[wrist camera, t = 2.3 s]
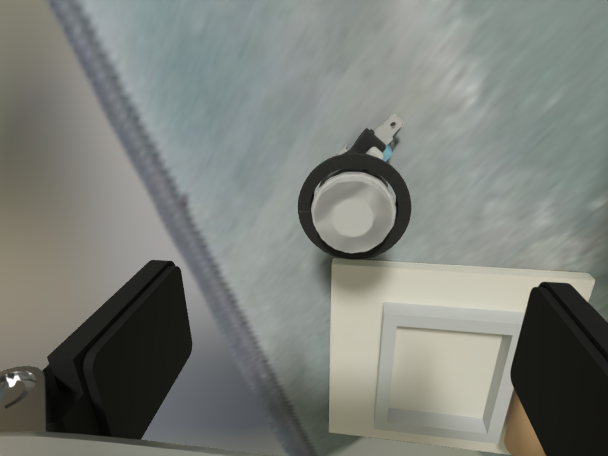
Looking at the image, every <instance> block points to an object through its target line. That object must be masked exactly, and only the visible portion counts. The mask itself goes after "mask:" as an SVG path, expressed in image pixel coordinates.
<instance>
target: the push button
mask: <svg viewBox="0 0 608 456" xmlns="http://www.w3.org/2000/svg"><path fill="white" fill-rule="evenodd" d="M392 122H396V124H395V126H390V124H391V123H392ZM402 125H403V122H402V120H401V119H400V118H399V117H398V116H397V115H396V114H392V115H391V116H390V117H389V119H388V120H387V121H386V122H385V123H384V124H383V125H382V126H381V125H379V127H378V128H377V129H376V130H375V131H373V130H372V129H371V130H369V129H367V128H366V129H365V130H364V131H363V133H362V134H361V135H360V136H359V138H358V139H357V141H356V142H355V144H354V145H353V147H352V148H351V149H350V150H347V149H346V147H347V144H345V145H344V147H343V148H342V149H341V150H340V151H339V153H338V154H337V155H336V156H334V157H332V158H329V159H327V160H326V161H324V162H322V163H321V164H320V165H318V166H317V167H316V168H315V169H314V170H313V171H312V172H311V173H310V174H309V176H308V177H307V179H306V180H305V182H304V184H303V186H302V189H301V191H300V195H299V200H298V214H299V219H300V223H301V225H302V228H303V230H304V231H305V233H306V235H307V236H308V238H309V239H310V240H311V241H312V242H313V243H314V244H315V245H316V246H317V247H319V248H320V249H321V250H323V251H324V252H326V253H328V254H330V255H333V256H335V257H339V258H343V259H350V260H360V259H367V258H371V257H374V256H377V255H379V254H381V253H383V252H385V251H387V250H388V249H390V248H391V247H392V246H393V245H395V244H396V243H397V242H398V240H399V239H400V238H401V237H402V235H403V234H404V232H405V230H406V228H407V226H408V223H409V220H410V215H411V199H410V195H409V191H408V189H407V186H406V184H405V182H404V180H403V178H402V177H401V175H400V174H399V173H398V172H397V171H396V170H395V169H394V168H393V167H392V166H391V165H390V164H388V163H387V162H386V161H387V160H388V159H389V158H390V157H391V155H392V154H393V152H392V149H391V146H390V145H389V143H390V142H391V141H392V140H393V139H394V138H393V137H392V136H393V135H394V134H395V133H396V132H397V131H398V129H399V128H400V127H401V126H402ZM321 180H322V181H321ZM320 181H321V183H320ZM386 181H387V182H388V183H389V184H390V185H391V187H392V188H393V190H394V192H395V195H396V204H395V202H394V198H393V195H392V193H391V192H390V190H389V189H388V186H387V182H386ZM319 183H320V186H319V189H318V190H317V192H316V193H315V196H314V191H315V188H316V187H317V185H318V184H319Z"/></svg>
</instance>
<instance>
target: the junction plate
mask: <svg viewBox="0 0 608 456" xmlns="http://www.w3.org/2000/svg"><path fill="white" fill-rule="evenodd" d="M595 281H596V280H595V279H594V278H593V277H592V276H591V275H590V274H589V273H581V272H564V271H547V270H530V269H513V268H496V267H479V266H462V265H445V264H428V263H411V262H394V261H377V260H350V259H343V258H333V260H332V276H331V334H330V393H329V432H331V433H339V434H347V435H355V436H363V437H371V438H379V439H388V440H396V441H404V442H411V443H420V444H428V445H436V446H444V447H452V448H460V449H468V450H476V451H484V452H492V453H500V454H508V455H512V456H546V455H545V453H544V451H543V448H542V446H541V444H540V442H539V440H538V438H537V436H536V434H535V432H534V429H533V427H532V425H531V423H530V421H529V419H528V417H527V415H526V413H525V410H524V408H523V406H522V404H521V402H520V400H519V398H518V396H517V394H516V391H515V389H514V387H513V385H512V382H511V377H510V370H511V366H512V362H513V358H514V354H515V350H516V346H517V342H518V338H519V334H520V331H521V327H522V323H523V319H524V315H525V311H526V307H527V303H528V299H529V295H530V292H531V290H532V288H533V287H538V286H539V284H540V283H542V282H558V283H569V284H571V285H572V286H573V287H574V288H575V289H576V290H577V291H578V292H579V293H580V295H581V296H582V297H583V298H584V299H585V300H586V301H587V302H588V301H589V298H590V295H591V292H592V289H593V287H594V284H595Z"/></svg>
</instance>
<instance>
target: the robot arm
mask: <svg viewBox="0 0 608 456" xmlns="http://www.w3.org/2000/svg"><path fill="white" fill-rule="evenodd" d="M191 350H192V338H191V332H190V326H189V320H188V313H187V307H186V300H185V294H184V288H183V281H182V275H181V270H180V268H179V267H178V266H175V264H174V263H173V262H172V261H161V260H151V261H149V262H148V263H147V264H146V265H145V266H144V267H143V268H142V269H141V270H140V271H139V272H138V273H137V274H136V275H134V276H133V277H132V278H131V279H130V280H129V281H128V282H127V283H126V284H125V285H124V286H123V287H122V288H120V289H119V290H118V291H117V292H116V293H115V294H114V295H113V296H112V297H111V298H110V299H109V300H108V301H106V302H105V303H104V304H103V305H102V306H101V307H100V308H99V309H98V310H97V311H96V312H95V313H94V314H93V315H92V316H90V317H89V318H88V319H87V320H86V321H85V322H84V323H83V324H82V325H81V326H80V327H79V328H78V329H77V330H75V331H74V332H73V333H72V334H71V335H70V336H69V337H68V338H67V339H66V340H65V341H64V342H63V343H62V344H60V346H58V347H57V348H56V349H55V350H54V351H53V352H52V353H51V354H50V355H49V356H48V357H47V358H48V361H49V365H48V366H47V367H46V368H45V369H44V370H43V371H42V370H40V369H39V368H37V367H32V366H21V367H14V368H10V369H7V370H3V371H1V372H0V456H277V455H270V454H261V453H252V452H244V451H235V450H226V449H217V448H209V447H200V446H191V445H181V444H173V443H165V442H156V441H147V440H141V438H142V437H143V435H144V433H145V431H146V430H147V428H148V426H149V424H150V423H151V421H152V419H153V417H154V416H155V414H156V413H157V411H158V409H159V407H160V406H161V404H162V402H163V401H164V399H165V397H166V396H167V394H168V392H169V390H170V389H171V387H172V385H173V384H174V382H175V380H176V378H177V377H178V375H179V373H180V372H181V370H182V368H183V366H184V365H185V363H186V361H187V359H188V358H189V356H190V354H191ZM510 377H511V382H512V385H513V387H514V389H515V391H516V394H517V396H518V398H519V400H520V402H521V404H522V406H523V408H524V410H525V413H526V415H527V417H528V419H529V421H530V423H531V425H532V427H533V429H534V432H535V434H536V436H537V438H538V440H539V442H540V444H541V446H542V448H543V451H544V453H545V455H546V456H608V323H607V322H606V321H605V320H604V319H603V318H602V317H601V315H600V314H599V313H598V312H597V311H596V310H595V309H594V308H593V307H592V306H591V305H590V304H589V303H588V302H587V301H586V300H585V299H584V298H583V297H582V296H581V295H580V293H579V292H578V291H577V290H576V289H575V288H574V287H573V286H572V285H571V284H569V283H558V282H542V283H540V284H539V286H538V287H533V288H532V290H531V292H530V295H529V299H528V303H527V307H526V311H525V315H524V319H523V323H522V327H521V331H520V334H519V338H518V342H517V346H516V350H515V354H514V358H513V362H512V366H511V370H510Z"/></svg>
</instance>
